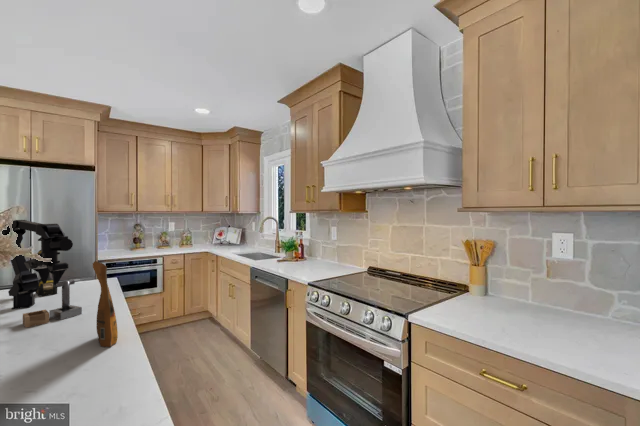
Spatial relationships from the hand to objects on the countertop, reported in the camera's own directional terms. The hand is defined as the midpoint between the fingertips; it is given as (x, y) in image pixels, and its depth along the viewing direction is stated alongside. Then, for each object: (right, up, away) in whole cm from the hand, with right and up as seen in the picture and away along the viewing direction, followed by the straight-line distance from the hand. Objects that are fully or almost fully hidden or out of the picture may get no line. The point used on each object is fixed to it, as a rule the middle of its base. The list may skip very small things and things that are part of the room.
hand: (49, 283), depth 140 cm
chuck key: (+15, -12, -9) cm, 21 cm away
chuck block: (+15, -12, -9) cm, 21 cm away
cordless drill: (-23, -12, +25) cm, 36 cm away
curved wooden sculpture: (+50, -12, -34) cm, 61 cm away
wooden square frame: (+10, -12, -17) cm, 23 cm away
